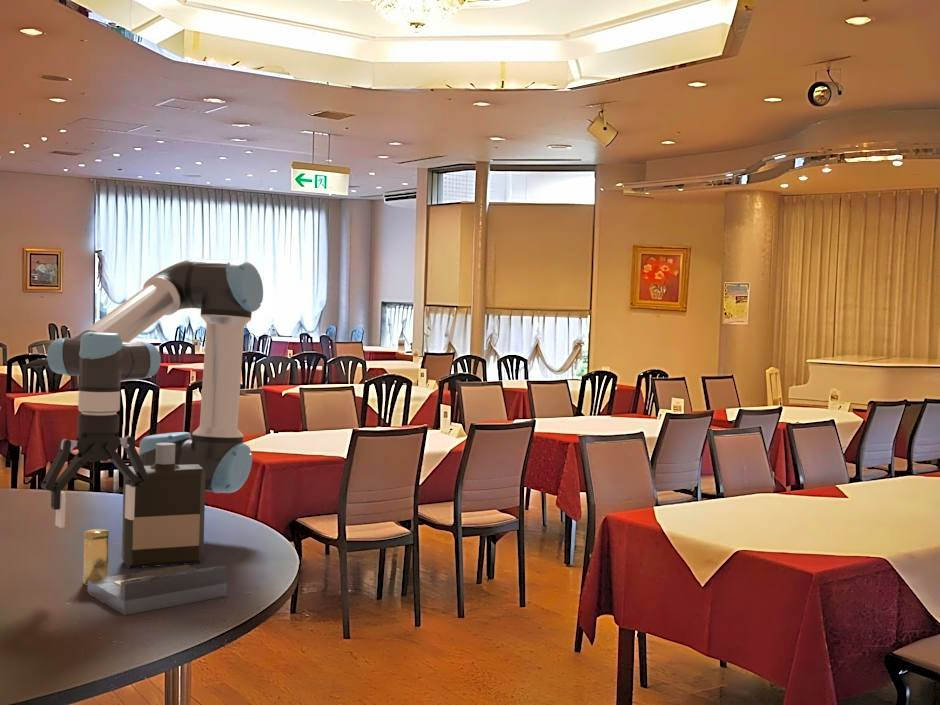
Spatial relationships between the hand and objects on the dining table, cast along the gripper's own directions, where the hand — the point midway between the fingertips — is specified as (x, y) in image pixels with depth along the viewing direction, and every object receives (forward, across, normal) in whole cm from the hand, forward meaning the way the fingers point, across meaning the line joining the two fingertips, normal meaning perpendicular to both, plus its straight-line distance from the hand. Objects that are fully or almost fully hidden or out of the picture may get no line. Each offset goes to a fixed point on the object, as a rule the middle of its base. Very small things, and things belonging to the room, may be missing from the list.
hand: (95, 522), depth 196 cm
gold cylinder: (+12, 0, 0) cm, 12 cm away
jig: (+12, -6, +14) cm, 19 cm away
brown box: (+12, -18, -7) cm, 23 cm away
